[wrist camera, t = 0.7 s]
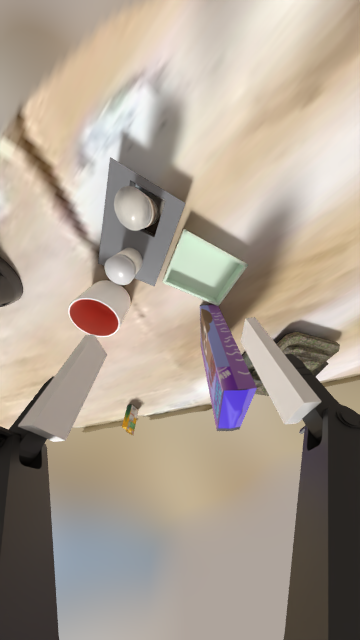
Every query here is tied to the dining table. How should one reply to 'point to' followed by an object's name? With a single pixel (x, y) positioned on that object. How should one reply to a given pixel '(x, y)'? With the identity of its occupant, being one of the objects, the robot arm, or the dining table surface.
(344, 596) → the robot arm
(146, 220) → the cylinder
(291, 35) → the dining table surface
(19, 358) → the dining table surface
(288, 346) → the metal base with loops
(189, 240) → the parts tray
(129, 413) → the crayon box
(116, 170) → the fuse holder block
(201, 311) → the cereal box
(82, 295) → the cup
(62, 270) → the dining table surface
